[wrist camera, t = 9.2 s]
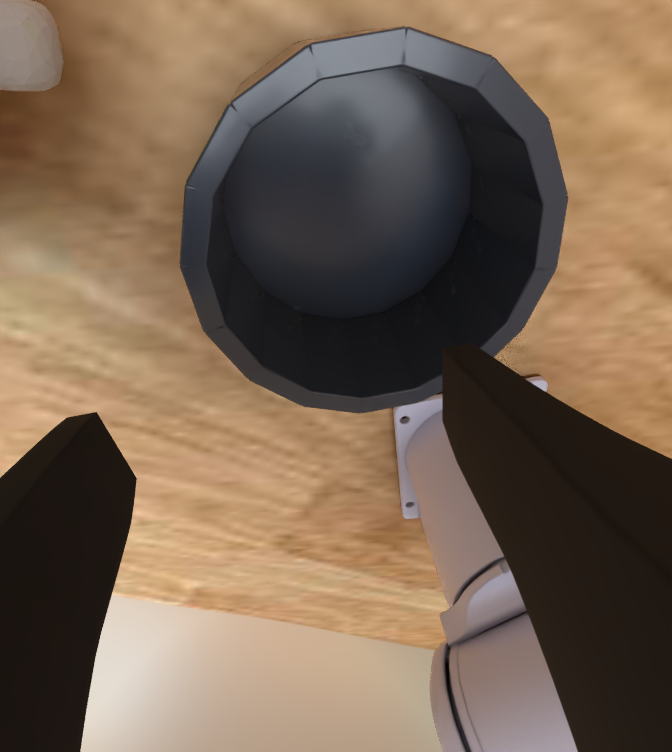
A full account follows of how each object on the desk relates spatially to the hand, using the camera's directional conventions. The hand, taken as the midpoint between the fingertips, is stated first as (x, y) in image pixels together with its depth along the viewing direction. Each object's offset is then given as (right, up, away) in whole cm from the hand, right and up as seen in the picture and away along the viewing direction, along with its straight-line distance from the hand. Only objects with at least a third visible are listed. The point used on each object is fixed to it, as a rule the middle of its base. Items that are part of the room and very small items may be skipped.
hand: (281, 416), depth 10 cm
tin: (+2, +7, +8) cm, 11 cm away
